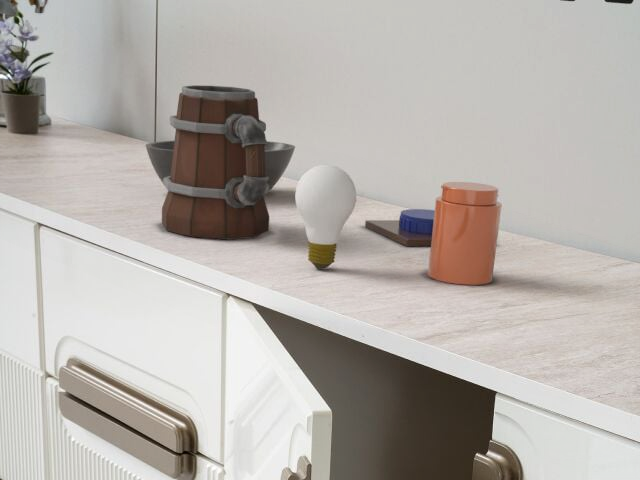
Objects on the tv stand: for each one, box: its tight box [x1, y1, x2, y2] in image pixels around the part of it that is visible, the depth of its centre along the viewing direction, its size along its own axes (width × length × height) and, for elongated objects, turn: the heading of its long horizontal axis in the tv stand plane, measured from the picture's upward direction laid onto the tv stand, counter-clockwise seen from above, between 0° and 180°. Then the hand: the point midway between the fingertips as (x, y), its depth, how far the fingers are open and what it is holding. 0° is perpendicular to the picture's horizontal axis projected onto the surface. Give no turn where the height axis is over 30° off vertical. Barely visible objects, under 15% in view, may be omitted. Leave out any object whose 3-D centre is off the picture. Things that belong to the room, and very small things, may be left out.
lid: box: [398, 208, 435, 234], centre depth 131 cm, size 7×7×2 cm
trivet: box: [364, 219, 432, 247], centre depth 131 cm, size 11×11×1 cm
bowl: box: [145, 139, 296, 196], centre depth 148 cm, size 12×22×6 cm, turn 130°
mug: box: [161, 84, 270, 240], centre depth 122 cm, size 16×12×15 cm
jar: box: [427, 181, 503, 286], centre depth 110 cm, size 6×6×9 cm
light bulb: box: [294, 164, 357, 270], centre depth 109 cm, size 6×6×10 cm
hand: (589, 1), depth 116 cm, fingers open, 9 cm apart
